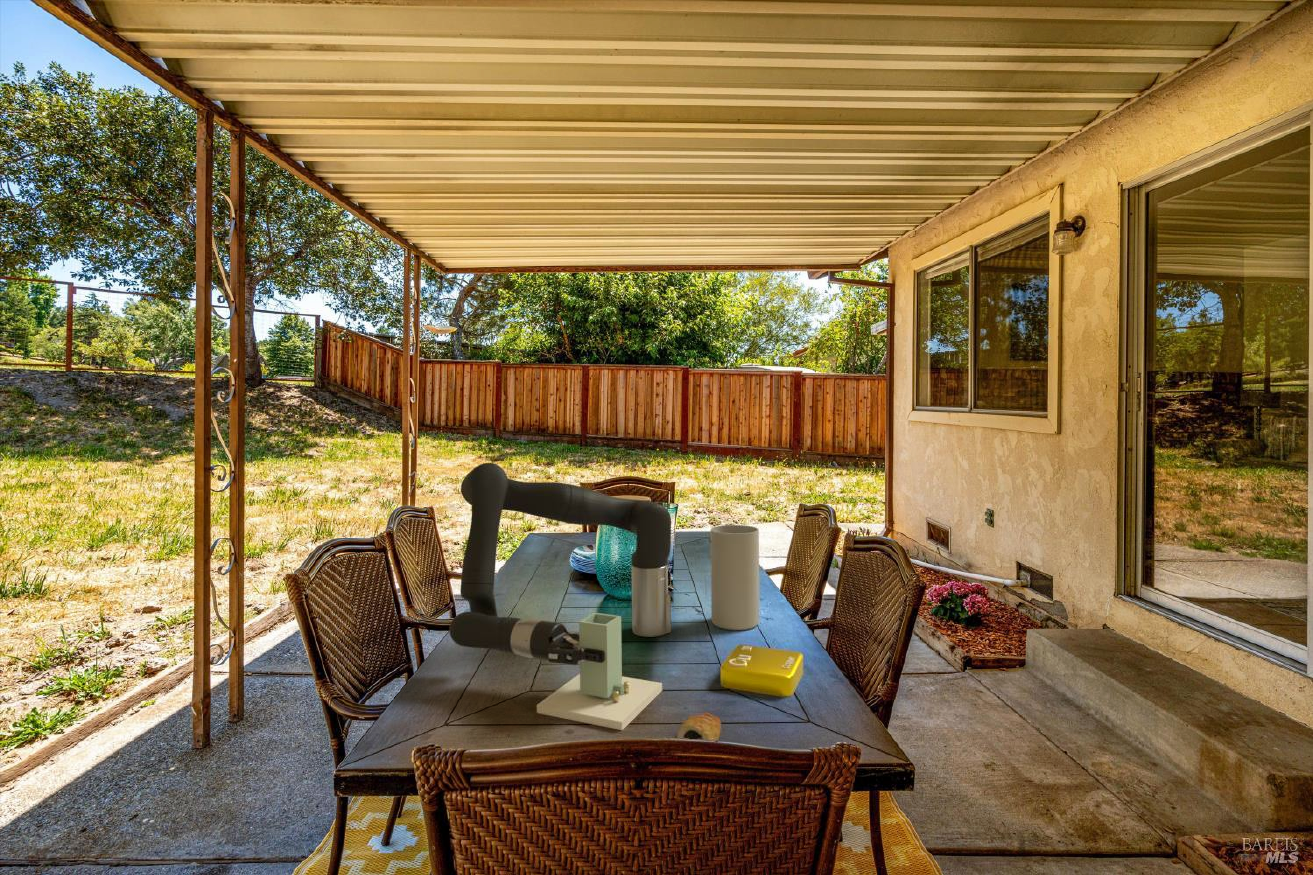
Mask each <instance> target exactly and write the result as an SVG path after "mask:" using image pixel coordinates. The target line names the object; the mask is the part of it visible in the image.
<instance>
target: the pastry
mask: <svg viewBox="0 0 1313 875" xmlns="http://www.w3.org/2000/svg"><path fill="white" fill-rule="evenodd" d="M721 730H722V721H721V718H719V716H716V715H714V714H711V713H709V712H705V713H698V714H696V715H691V716H689V717H686V720H684V721H682V723H681V724H680V726H679V730H678V733H676V739H677V738H689V739H702V740H711V741H717V742H718V741H719V738H720V735H721Z"/></svg>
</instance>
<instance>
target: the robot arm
mask: <svg viewBox="0 0 1313 875" xmlns="http://www.w3.org/2000/svg"><path fill="white" fill-rule="evenodd" d="M507 475H508V474H507V473H506V471H505V470H504V469H503V468H502V467H501V466H500V465H498V464H496V463H493V462H484V463H481V464H479V465H477V466H474V468H473V469H471V471H469V472H468V473H467V475H465V477H464V478H463V480H462V481H461V484H460V492H461V495H462V498H463V499H464V501H466V503H468V504H469V505H470V506H471V520H470V521H471V522H470V528H469V534H468V537H467V542H466V546H465V551H464V555H463V559H462V566H461V569H462V570H461V576H460V577H461V578H460V579H461V580H460V590H459V591H460V596H461V598H462V599H463V600H465V601H467V603H468V604H469V609H470V611H463V612H461V613H459V614H457V615H456V616H455V617H454V618H453V619H452V620H451V622H450V624H449V630H448V632H449V635H450V638H451V640H452V641H453V642H454V643H455V644H456V645H458V646H461V647H465V648H474V649H475V648H476V649H485V650H486V649H488V650H494V651H495V650H496V651H499V652H502V653H509V654H514V655H518V656H521V657H524V658H528V659H536V660H542V661H547V662H548V663H555V664H563V665H564V664H565V665H573V666H577V665H578V664H579V663H580V662H585V661H592V662H598V663H603V662H604V661H605V653H604V651H603V650H596V649H590V648H587V649H586V648H585V647H581V646H579V631H570V632H569V631H568V630H567V628H566V627H565V625H564V624H563V623H561V622H555V621H548V620H542V619H534V618H518V617H509V616H498V612H497V611H498V610H497V604H496V598H495V594H494V590H495V589H494V588H495V577H496V576H495V575H496V562H497V561H496V560H497V546H498V538H499V537H498V536H499V528H500V524H501V523H500V522H501V518H502V513H503V512H502V511H511V512H517V513H522V514H527V515H529V516H530V515H531V516H535V517H538V518H543V519H546V520H547V519H548V520H552V521H557V522H561V523H566V524H573V525H580V526H609V527H614V528H617V529H621V530H623V531H624V530H625V531H627V532H629V533H633V534H635V535H636V548H635V551H634V552H632V554H631V558H630V561H631V562H630V564H631V566H630V567H631V617H632V618H631V625H632V627H631V628H632V630H631V631H632V633H633V634H634V635H636V636H638V637H644V638H646V637H649V638H650V637H651V638H652V637H659V636H660V637H661V636H663V635H666V634H670V633H671V632H672V623H671V622H672V621H671V619H672V618H671V617H672V616H671V612H672V611H671V595H670V594H669V587H668V585H669V578H668V577H669V576H668V573H669V572H668V570H669V569H668V568H669V566H668V561H669V560H668V559H669V556H670V553H671V544H672V543H671V542H672V541H671V540H672V520H671V516H670V512H669V511H668V509H667V508H666V507H665V506H663V505H662V504H661V503H657V502H653V501H651V500H645V499H643V500H642V499H641V500H640V499H629V498H622V497H616V496H615V497H614V496H611V495H608V494H605V493H603V492H599V491H597V490H595V489H590V488H587V487H584V486H579V485H575V484H570V483H566V482H565V483H564V482H553V481H550V482H549V481H548V482H547V481H541V482H540V481H539V482H538V481H536V482H533V481H531V482H528V481H526V482H525V481H519V480H515V479H512V478H508V476H507Z"/></svg>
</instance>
